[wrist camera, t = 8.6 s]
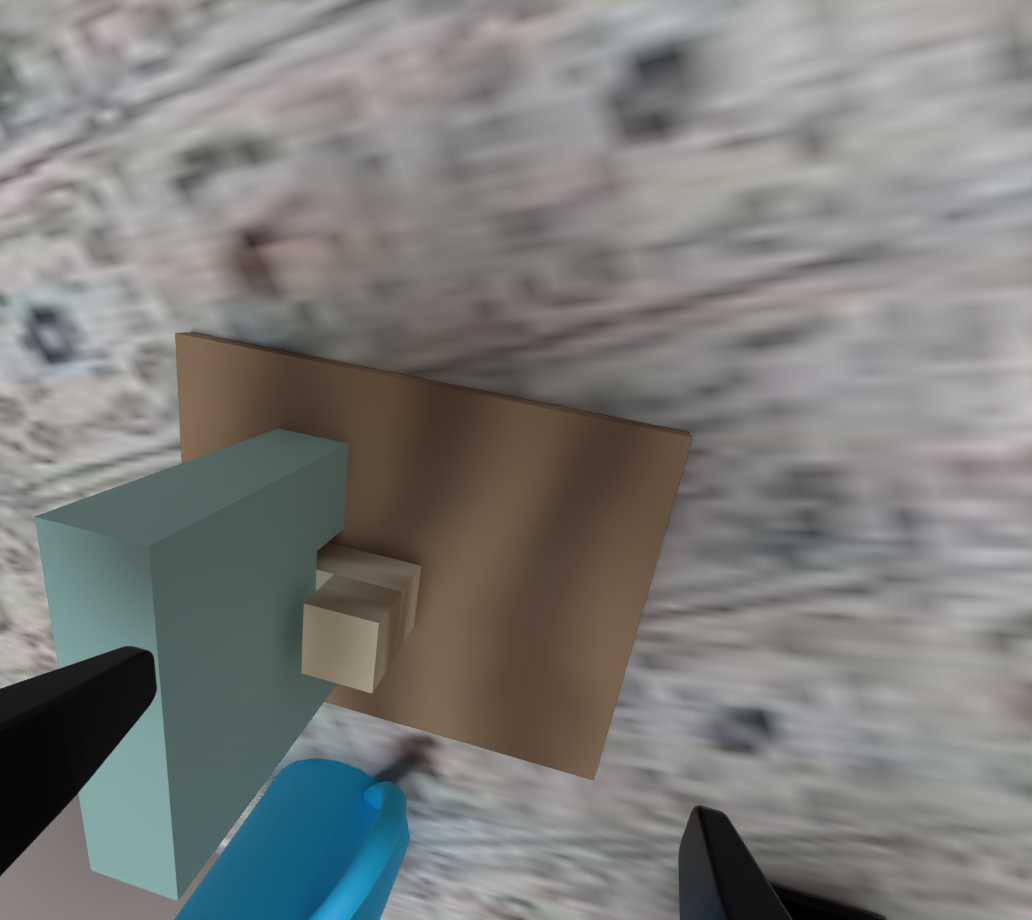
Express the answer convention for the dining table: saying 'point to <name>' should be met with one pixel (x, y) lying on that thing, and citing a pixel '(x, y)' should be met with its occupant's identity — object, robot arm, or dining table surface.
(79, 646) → the teal block
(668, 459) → the board
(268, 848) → the mug
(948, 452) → the dining table surface
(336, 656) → the cream handle bar
